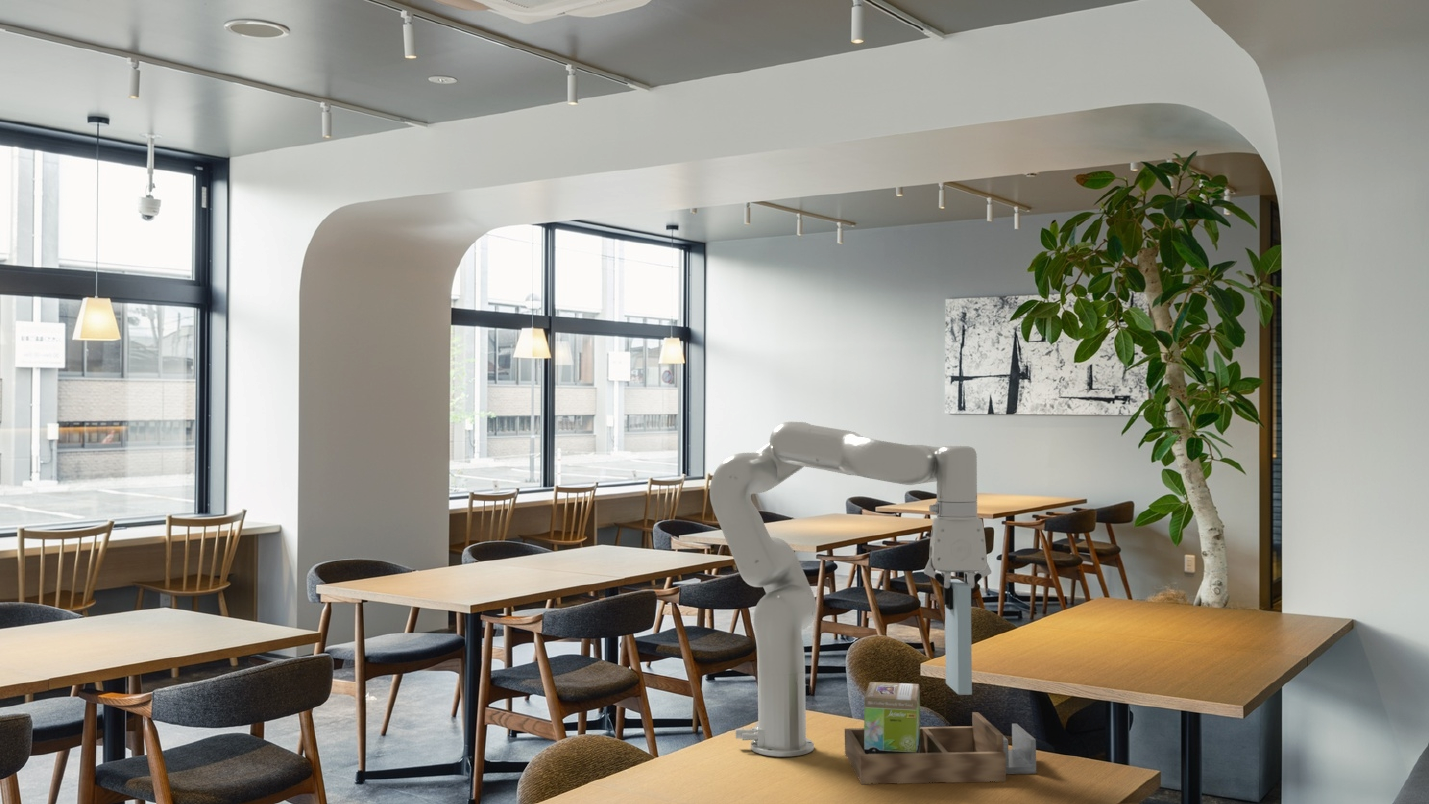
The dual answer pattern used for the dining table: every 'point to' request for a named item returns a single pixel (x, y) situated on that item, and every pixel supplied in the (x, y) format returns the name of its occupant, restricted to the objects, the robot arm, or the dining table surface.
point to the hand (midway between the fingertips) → (957, 607)
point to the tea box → (892, 718)
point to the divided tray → (935, 756)
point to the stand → (1020, 752)
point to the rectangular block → (959, 639)
